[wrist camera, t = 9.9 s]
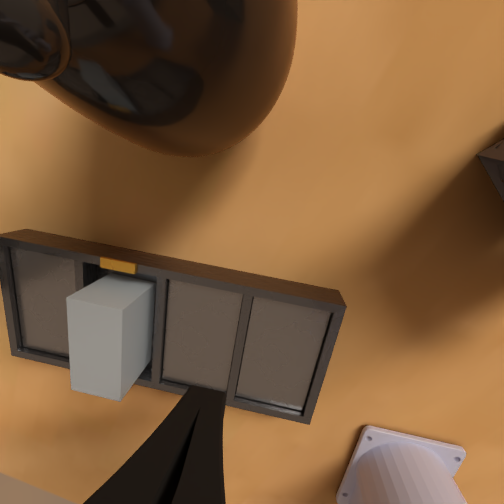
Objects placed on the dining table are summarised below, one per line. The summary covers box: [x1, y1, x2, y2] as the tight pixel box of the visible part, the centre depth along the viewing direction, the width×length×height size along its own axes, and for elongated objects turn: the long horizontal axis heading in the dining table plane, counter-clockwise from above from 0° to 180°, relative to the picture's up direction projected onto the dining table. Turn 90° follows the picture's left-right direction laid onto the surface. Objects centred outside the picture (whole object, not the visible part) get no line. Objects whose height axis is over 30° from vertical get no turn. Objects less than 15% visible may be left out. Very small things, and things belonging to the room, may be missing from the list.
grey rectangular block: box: [66, 273, 156, 402], centre depth 17 cm, size 7×4×4 cm, turn 169°
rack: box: [0, 229, 347, 425], centre depth 19 cm, size 10×24×2 cm, turn 80°
